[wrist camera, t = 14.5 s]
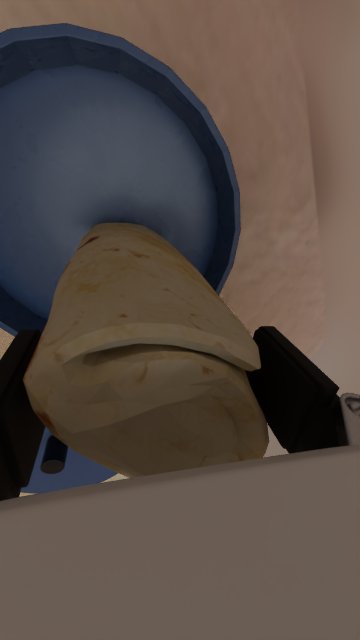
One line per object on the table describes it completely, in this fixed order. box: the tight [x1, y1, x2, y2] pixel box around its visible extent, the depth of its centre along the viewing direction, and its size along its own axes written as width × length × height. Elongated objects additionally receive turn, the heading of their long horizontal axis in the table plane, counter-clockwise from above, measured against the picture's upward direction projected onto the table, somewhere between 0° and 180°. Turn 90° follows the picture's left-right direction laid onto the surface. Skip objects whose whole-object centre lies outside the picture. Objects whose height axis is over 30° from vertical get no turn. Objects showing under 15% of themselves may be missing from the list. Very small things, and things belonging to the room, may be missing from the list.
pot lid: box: [21, 427, 118, 493], centre depth 31 cm, size 23×23×5 cm
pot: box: [0, 23, 241, 337], centre depth 21 cm, size 22×22×4 cm
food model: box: [23, 223, 269, 478], centre depth 15 cm, size 10×7×20 cm
